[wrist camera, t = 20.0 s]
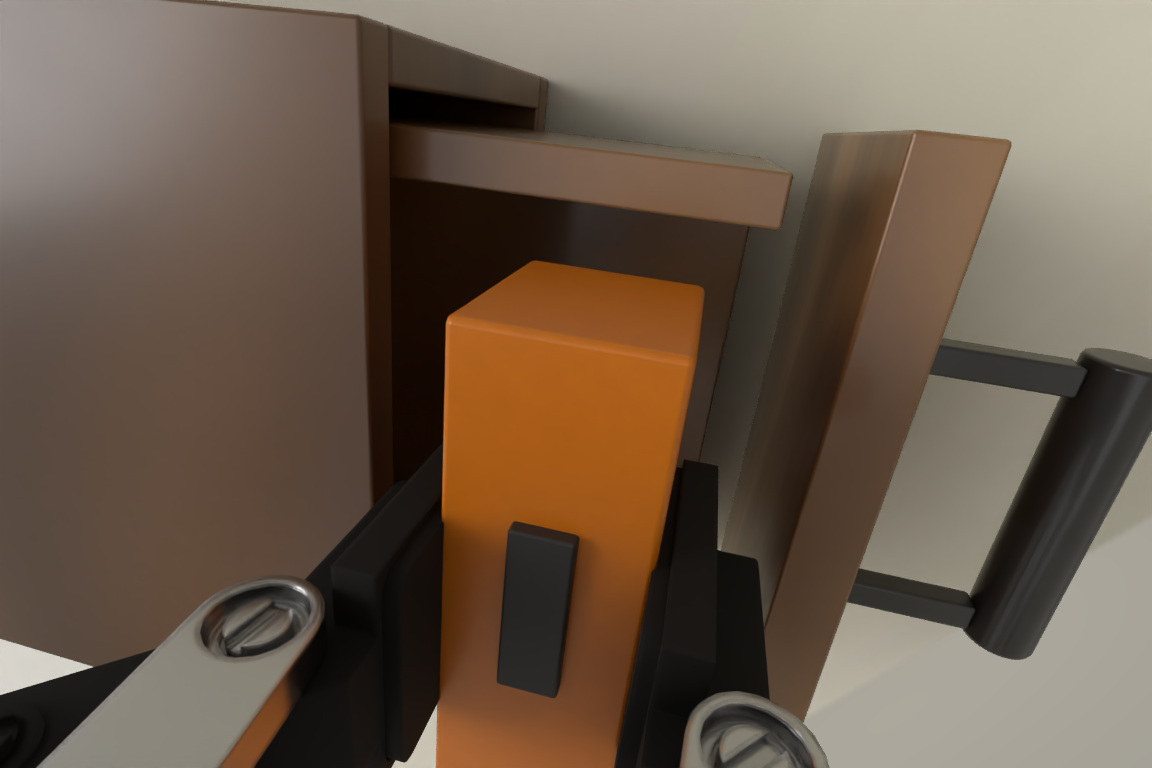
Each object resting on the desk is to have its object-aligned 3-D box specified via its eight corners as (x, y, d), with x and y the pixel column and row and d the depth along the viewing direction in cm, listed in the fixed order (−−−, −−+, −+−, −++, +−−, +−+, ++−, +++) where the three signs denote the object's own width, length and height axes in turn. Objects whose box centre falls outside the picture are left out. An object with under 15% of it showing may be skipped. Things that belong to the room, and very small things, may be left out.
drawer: (1100, 164, 14) (1488, 192, 7) (916, 603, 19) (1032, 880, 12) (359, 81, 17) (96, 40, 10) (371, 481, 22) (203, 645, 15)
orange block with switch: (531, 258, 9) (433, 320, 6) (705, 284, 9) (697, 367, 6) (499, 675, 13) (426, 850, 9) (623, 709, 12) (590, 903, 9)
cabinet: (549, 78, 17) (358, 14, 8) (514, 512, 22) (380, 754, 13) (92, 30, 19) (-443, -62, 10) (164, 433, 24) (-144, 597, 16)
